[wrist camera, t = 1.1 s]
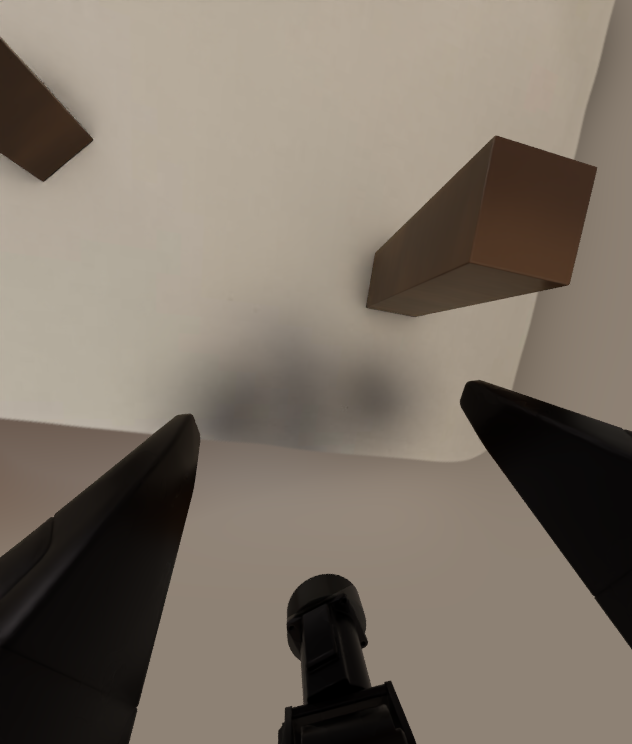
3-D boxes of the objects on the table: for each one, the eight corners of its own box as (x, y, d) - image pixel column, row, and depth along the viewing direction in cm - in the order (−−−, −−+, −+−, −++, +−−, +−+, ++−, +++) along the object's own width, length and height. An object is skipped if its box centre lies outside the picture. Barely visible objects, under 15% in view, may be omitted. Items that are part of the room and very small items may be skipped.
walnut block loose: (415, 317, 22) (570, 285, 10) (365, 307, 21) (469, 262, 10) (425, 263, 22) (598, 166, 10) (375, 252, 21) (495, 133, 9)
